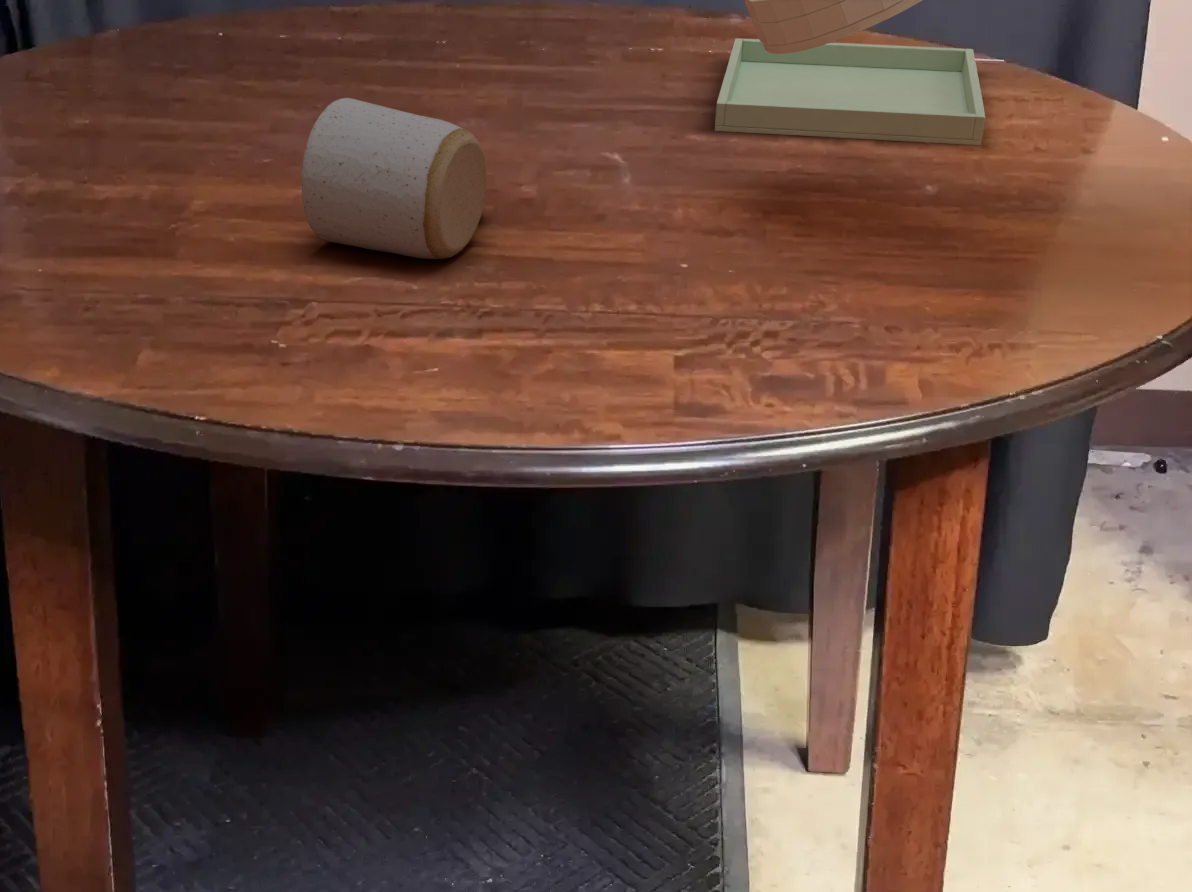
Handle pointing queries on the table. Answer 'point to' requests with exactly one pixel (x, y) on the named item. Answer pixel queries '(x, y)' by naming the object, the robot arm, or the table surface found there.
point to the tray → (853, 93)
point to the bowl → (816, 20)
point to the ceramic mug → (392, 181)
